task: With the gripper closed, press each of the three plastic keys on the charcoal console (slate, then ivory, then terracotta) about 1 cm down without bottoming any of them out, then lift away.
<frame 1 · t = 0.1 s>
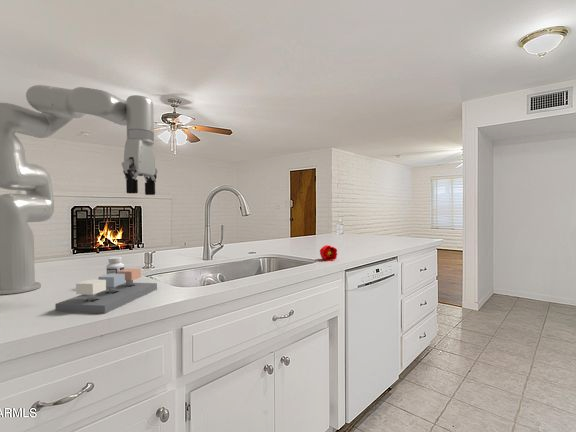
hand: (141, 194, 96), 31 cm above the worktop, fingers open, 9 cm apart
console: (112, 299, 91), on the worktop
slate key: (112, 283, 91), point 5 cm above the worktop, slide at 0.0 cm
ivory key: (91, 290, 83), point 5 cm above the worktop, slide at 0.0 cm
flower: (327, 260, 160), on the worktop
pill bottle: (115, 286, 108), on the worktop
terracotta key: (129, 277, 99), point 5 cm above the worktop, slide at 0.0 cm
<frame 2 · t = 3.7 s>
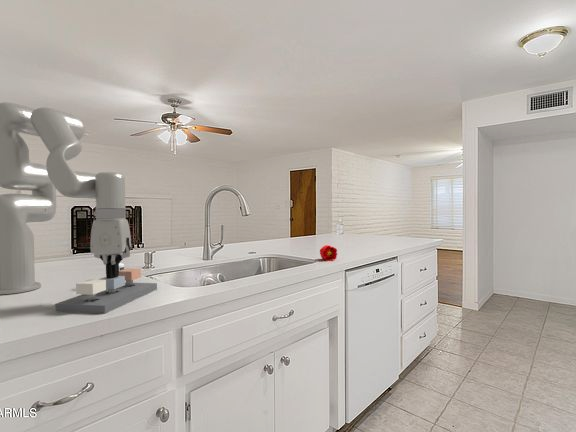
hand: (112, 277, 91), 6 cm above the worktop, fingers closed
slate key: (112, 285, 91), point 4 cm above the worktop, slide at 0.7 cm, touching gripper
everything else where it was.
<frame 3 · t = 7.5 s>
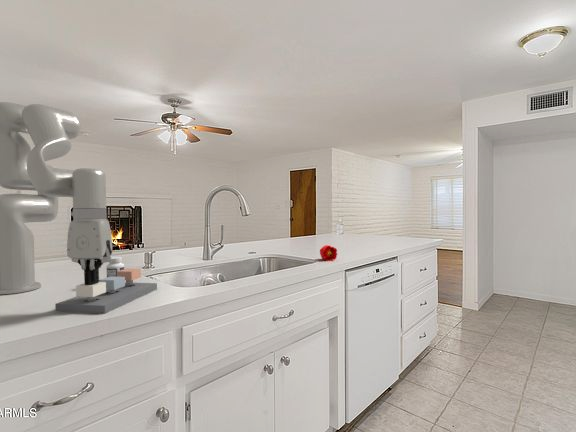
hand: (91, 283, 83), 6 cm above the worktop, fingers closed
slate key: (112, 286, 91), point 4 cm above the worktop, slide at 0.9 cm
ivory key: (91, 292, 83), point 4 cm above the worktop, slide at 0.6 cm, touching gripper
everything else where it was.
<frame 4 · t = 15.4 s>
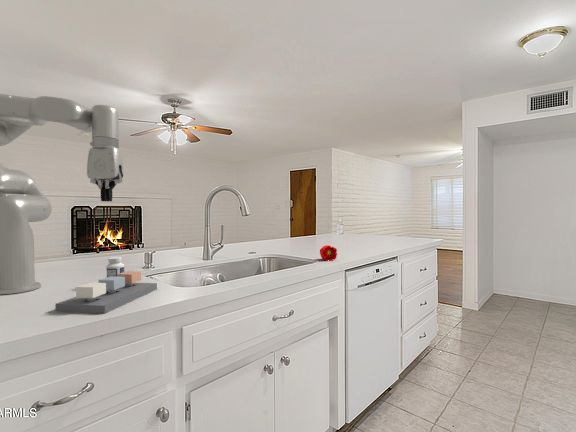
hand: (106, 201, 102), 29 cm above the worktop, fingers closed
ivory key: (91, 293, 83), point 4 cm above the worktop, slide at 0.9 cm
terracotta key: (129, 280, 99), point 4 cm above the worktop, slide at 0.9 cm
everything else where it was.
at the end: slate key slide at 0.9 cm; ivory key slide at 0.9 cm; terracotta key slide at 0.9 cm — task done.
